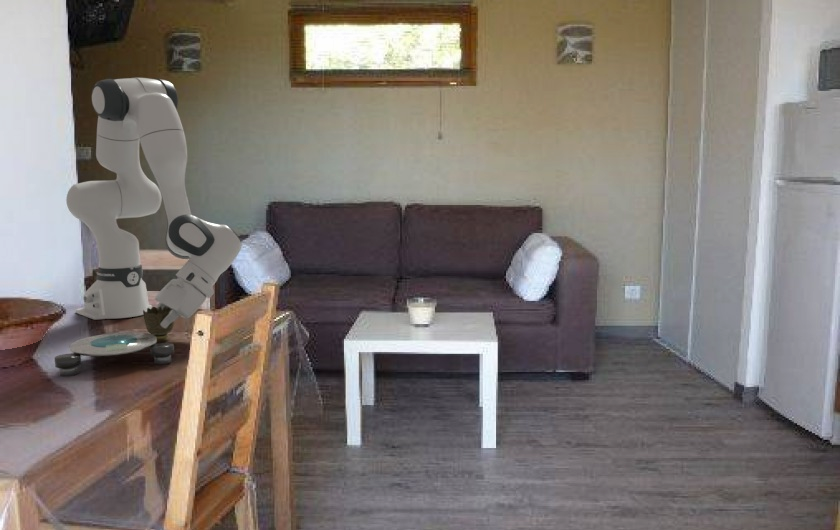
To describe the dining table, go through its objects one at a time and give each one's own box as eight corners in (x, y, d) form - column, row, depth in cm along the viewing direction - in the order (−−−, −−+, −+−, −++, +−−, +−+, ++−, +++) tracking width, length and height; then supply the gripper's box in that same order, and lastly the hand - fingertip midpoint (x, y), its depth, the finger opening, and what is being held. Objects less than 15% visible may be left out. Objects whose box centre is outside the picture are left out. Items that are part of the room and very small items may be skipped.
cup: (166, 344, 181) (164, 312, 180) (139, 343, 183) (136, 311, 182) (181, 337, 189) (180, 306, 187) (155, 336, 190) (153, 305, 189)
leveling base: (27, 368, 162) (25, 343, 161) (119, 345, 181) (117, 323, 180) (91, 386, 149) (88, 359, 148) (183, 360, 167) (181, 336, 166)
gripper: (172, 268, 196) (136, 308, 192) (197, 278, 179) (158, 323, 175) (190, 282, 199) (155, 323, 195) (216, 294, 182) (178, 338, 178)
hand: (157, 323), depth 185 cm, fingers closed on cup, 7 cm apart
